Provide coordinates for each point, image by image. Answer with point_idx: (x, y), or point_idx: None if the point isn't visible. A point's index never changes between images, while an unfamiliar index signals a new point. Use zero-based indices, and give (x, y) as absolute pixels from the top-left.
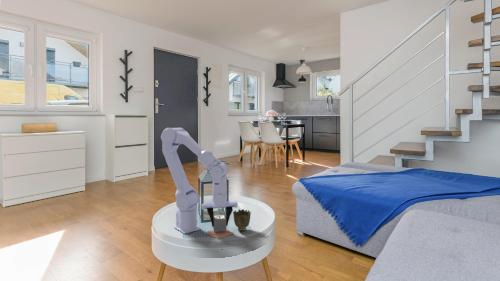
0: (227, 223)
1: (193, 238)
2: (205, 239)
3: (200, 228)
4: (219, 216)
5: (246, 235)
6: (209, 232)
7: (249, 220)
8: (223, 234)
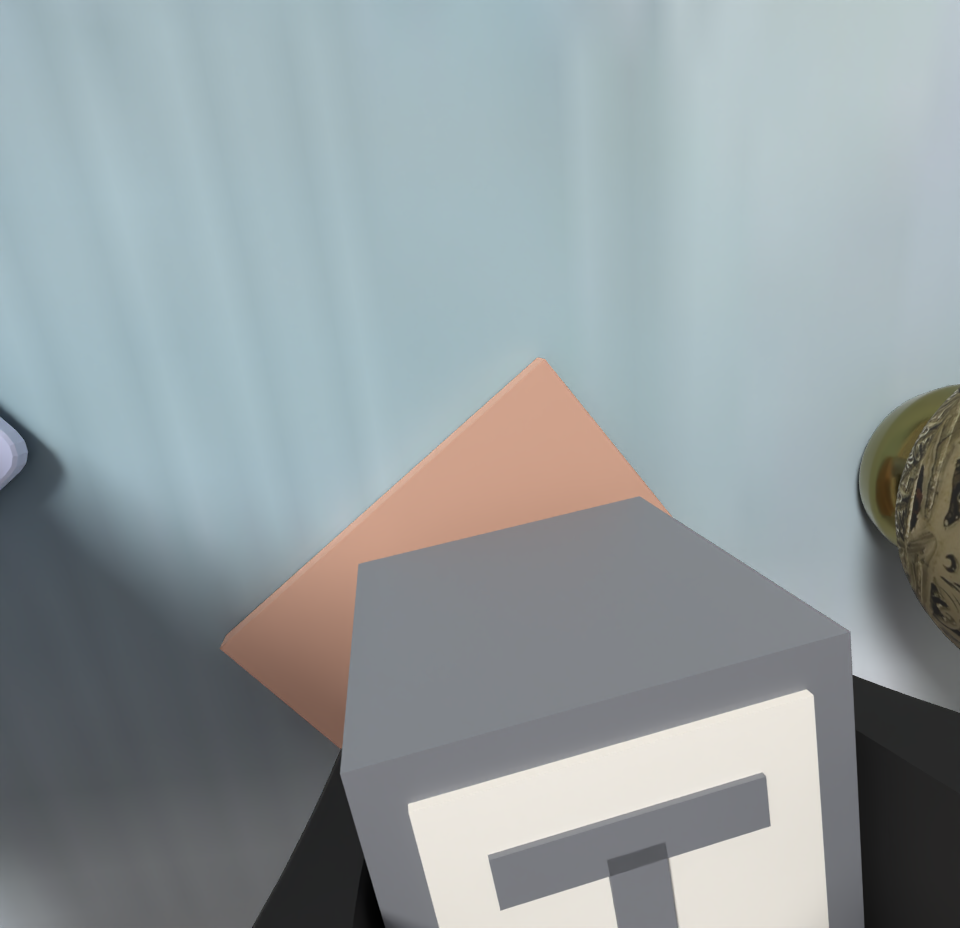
0: None
1: (29, 894)
2: None
3: (7, 475)
4: (643, 877)
5: (948, 674)
6: (302, 676)
7: None
8: None
